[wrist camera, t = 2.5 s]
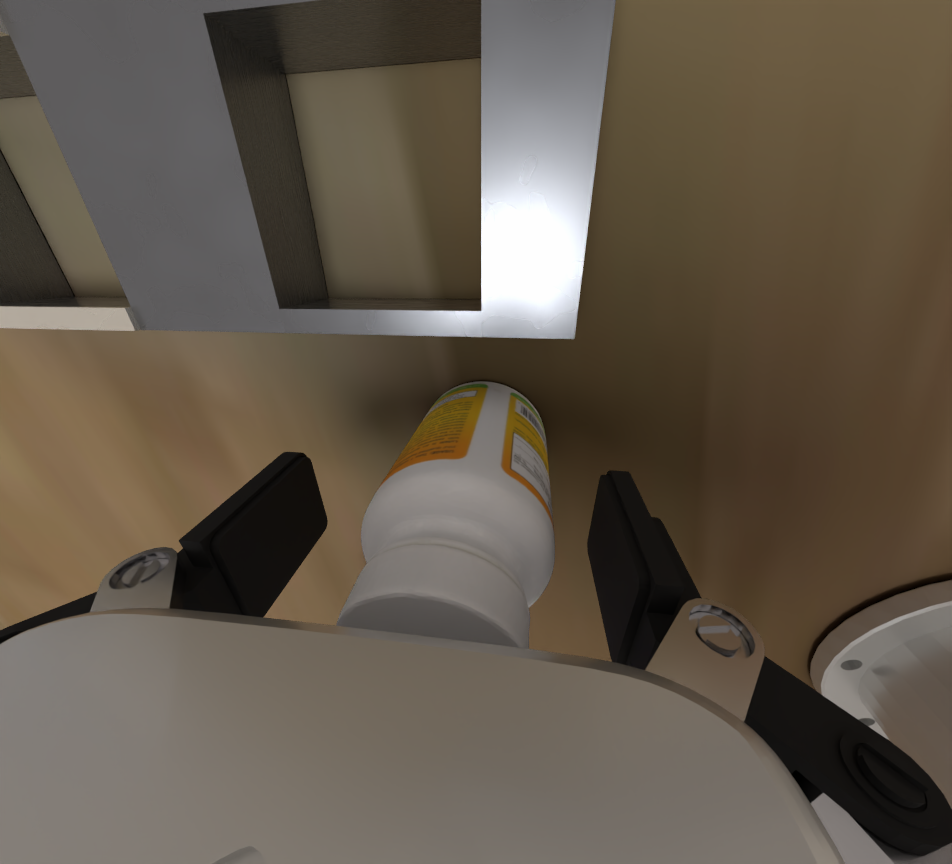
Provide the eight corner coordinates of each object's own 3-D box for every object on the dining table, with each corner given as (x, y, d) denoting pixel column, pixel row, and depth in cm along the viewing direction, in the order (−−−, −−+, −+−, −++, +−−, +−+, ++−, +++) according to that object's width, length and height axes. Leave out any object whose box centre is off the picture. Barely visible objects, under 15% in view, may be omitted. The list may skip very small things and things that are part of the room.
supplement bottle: (416, 465, 17) (296, 686, 8) (440, 361, 14) (300, 525, 6) (522, 497, 17) (513, 753, 8) (564, 400, 14) (617, 623, 6)
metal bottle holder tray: (598, 7, 9) (630, -105, 6) (565, 321, 13) (575, 340, 10) (-103, 77, 12) (-295, 23, 9) (33, 313, 16) (-75, 326, 13)
